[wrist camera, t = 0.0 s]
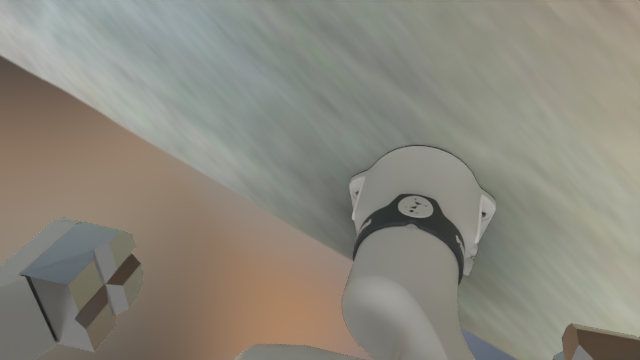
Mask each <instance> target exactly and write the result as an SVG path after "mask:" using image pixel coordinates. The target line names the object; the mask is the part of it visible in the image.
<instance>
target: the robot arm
mask: <svg viewBox="0 0 640 360" xmlns="http://www.w3.org/2000/svg"><path fill="white" fill-rule="evenodd" d="M349 189H350V195H351V200H352V206H353V214H352V220H354V221H355V228H356V232H357V237H356V240H355V244H354V246H355V247H354V251H353V261H354V262H353V265H352V269H351V271H350V274H349V277H348V280H347V283H346V286H345V290H344V293H343V296H342V314H343V318H344V321H345V323H346V326H347V328H348V330H349V332H350V333H351V335H352V337H353V338H354V340H355V341H356V343H357V344H358V345H359V346H360V347H361V348H362V349H363V350H364V351H365V352H366V353H367V354H368V355H370V356H371V357H372V358H373V359H374V360H476V359H475V358H474V356H473V354H472V353H471V351H470V349H469V348H468V346H467V344H466V342H465V340H464V337H463V335H462V332H461V329H460V325H459V317H458V285H459V284H460V282H461V279H462V276H463V275H465V276H469V274H470V272H471V270H472V266H473V259H472V258H470V257H471V256H475V255H476V253H477V250H478V246H477V244H478V243H479V241H480V239H481V237H482V235H483V233H484V231H485V230H486V228H487V226H488V224H489V222H490V220H491V218H492V217H493V215H494V213H495V211H496V206H497V203H496V201H495V199H494V198H493V197H492V196H491V195H489V194H488V193H487V192H485V191H484V190H483V189H481V187H480V186H479V185H478V183H477V181H476V179H475V178H474V176H473V174H472V173H471V171H470V170H469V169H468V167H467V166H466V165H465V164H464V163H463V162H461V161H460V160H459V159H458V158H456V157H455V156H453V155H451V154H449V153H447V152H445V151H442V150H439V149H436V148H432V147H425V146H410V147H404V148H400V149H397V150H394V151H392V152H390V153H388V154H386V155H385V156H383V157H382V158H381V159H379V160H378V161H377V162H376V163H375V164H374V165H373V166H372V167H371V168H370V169H369V170H368V171H365V172H362V173H360V174H357V175H355V176H354V177H352V178H351V180H350V184H349ZM357 191H359V193H358V192H357ZM482 212H485V214H482ZM135 248H136V244H135V241H134V238H133V235H132V234H130V233H128V232H125V231H122V230H117V229H113V228H109V227H105V226H100V225H96V224H92V223H88V222H82V221H78V220H73V219H69V218H65V217H63V218H60V219H56V220H54V221H53V222H51V223H50V224H49V225H48V226H47V227H45V228H44V229H43V230H42V231H41V232H40V233H38V234H37V235H36V236H35V237H34V238H33V239H32V240H30V241H29V242H28V243H27V244H26V245H24V246H23V247H22V248H21V249H20V250H18V251H17V252H16V253H15V254H14V255H13V256H12V257H10V258H9V259H8V260H7V261H5V262H4V263H3V264H2V265H1V266H0V360H34V359H36V358H37V357H39V356H41V355H42V354H44V353H46V352H47V351H49V350H50V349H52V348H54V347H55V346H56V345H57V344H56V343H58V344H63V345H67V346H71V347H75V348H79V349H83V350H88V351H91V352H95V351H96V350H97V349H98V348H99V346H100V345H101V343H103V341H104V340H105V339H106V337H107V336H108V335H109V334H110V332H111V331H112V330H113V328H114V327H115V326H116V315H117V314H119V313H121V312H123V311H125V310H127V309H129V308H130V307H131V305H132V304H133V303H134V301H135V300H136V298H137V297H138V295H139V292H140V289H141V287H142V284H143V269H142V266H141V263H140V262H139V261H138V260H137V258H136V257H135V256H134V255H133V254H132V253H133V251H134V250H135ZM562 343H563V351H562V352H560V353H558V354H556V355H554V357H553V360H640V337H637V336H634V335H629V334H624V333H619V332H613V331H608V330H603V329H598V328H593V327H588V326H583V325H578V324H573V323H571V324H570V325H569V326H568V327H567V328H566V330H565V332H564V334H563V336H562ZM234 360H364V359H359V358H356V357H352V356H348V355H344V354H339V353H335V352H331V351H327V350H323V349H319V348H315V347H311V346H305V345H304V346H303V345H285V344H255V345H252V346H251V347H249V348H248V349H246V350H244V352H242V353H241V354H240V355H238V356H237V357H236V358H235V359H234Z"/></svg>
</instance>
